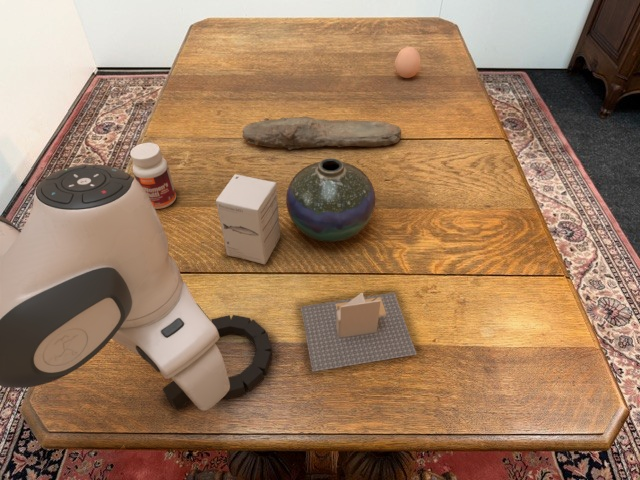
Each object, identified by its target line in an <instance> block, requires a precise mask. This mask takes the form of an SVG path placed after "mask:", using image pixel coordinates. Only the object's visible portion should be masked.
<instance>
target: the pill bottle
mask: <svg viewBox="0 0 640 480" xmlns="http://www.w3.org/2000/svg"><path fill="white" fill-rule="evenodd" d="M129 155H130V158H131V161H132V163H133V164H132V172H133V177H134V178H135V179H136V180H137V181H138V182H139V183H140V185H141V186H142V187H143V189H144V190H145V192H146V193H147V195H148V197H149V199H150V200H151V202H152V204H153V206H154V208H155V210H159V209H165V208H167V207H170V206H171V205H172V204H173V203H174V202H175V201H176V198H177V192H176V188H175V185H174V182H173V179H172V175H171V172H170V168H169V165H168V161H167V160H166V158H164V157H163V154H162V151H161V147H160V146H159V145H158V144H157V143H154V142H143V143H140V144H137V145H136V146H134V147H132V149H131V150H130V153H129Z"/></svg>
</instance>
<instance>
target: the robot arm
mask: <svg viewBox="0 0 640 480" xmlns="http://www.w3.org/2000/svg"><path fill="white" fill-rule="evenodd" d="M162 223H163V222H162V221H161V219H160V216H159V214H158V212H157V209H155V208H154V206H153V204H152V202H151V200H150V199H149V197H148V195H147V193H146V192H145V190H144V189H143V187H142V186H141V185H140V183H139V182H138V181H137V180H136V178H135V176H134V175H131V174H130V173H128V172H126V171H124V170H122V169H119V168H116V167H114V166H110V165H105V164H78V165H73V166H69V167H65V168H62V169H60V170H57V171H55V172H53V173H50V174H49V175H48V176H46V177H45V178H44V179H42V180H41V181H40V182H39V183H38V184H37V186H36V187H35V189H34V194H33V202H32V207H31V210H30V213H29V215H28V216H27V219H26V221H25V223H24V225H23V227H22V229H19V228H18V227H17V226H16V225H15V224H14V223H13V222H11V221H10V220H8V219H7V218H5V217H4V216H3V215H0V387H4V388H9V389H25V388H33V387H37V386H42V385H46V384H49V383H52V382H55V381H57V380H59V379H61V378H64V377H65V376H67V375H69V374H72V373H73V372H74V371H76V370H78V369H79V368H81V367H82V366H84V365H85V364H86V363H88V362H89V361H90V360H91V359H93V358H94V357H95V356H97V354H99V353H100V352H101V351H102V350H103V349H104V348H105V347H106V346H107V344H109V342H110V341H111V340H112V341H114V342H115V343H117V344H119V345H121V346H124V347H125V348H127V349H128V350H129V351H131V352H133V353H134V354H136V355H138V356H139V357H141V359H143V360H144V361H145V362H146V363H147V364H149V365H150V366H151V367H152V368H153V369H154V370H155V371H156V372H157V373H159V374H160V375H161V376H162V377H163V379H166V380H170V379H171V380H172V381H174V382H175V383H176V384H177V385H178V386H179V387H180V388H181V389H182V390H183V391H184V392H185V394H186V395H187V396H188V397H189V398H190V399H191V400H190V401H191V402H192V403H193V404H194V405H195V407H197V408H198V409H199V410H201V411H203V412H204V411H205V412H206V411H208V410H210V409H211V408H213V407H214V406H215V405H217V403H219V402H220V401H222V400H223V398H225V395H226V394H227V392H228V391H229V389H230V382H229V378H228V377H229V374H228V370H227V366H226V364H225V361H224V358H223V356H222V355H223V354H222V353H221V351H220V349H219V347H218V345H217V344H216V343H217V342H218V341H219V340H220V337H219V333H218V330H217V328H216V327H215V325H214V324H213V323H212V319H210V318H209V316H208V315H207V314H206V313H205V311H204V310H203V308H201V306H200V304H198V302H197V301H196V299H194V297H193V295H192V293H191V291H190V289H189V286H188V284H187V283H186V281H184V280H183V276H182V274H181V271H180V269H179V266H178V264H177V262H176V261H175V259H174V258H173V256H172V255H171V254H170V251H169V250H170V249H169V247H170V246H169V240H168V236H167V234H166V231H165V229H164V225H163V224H162ZM221 399H222V400H221Z"/></svg>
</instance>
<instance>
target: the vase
mask: <svg viewBox="0 0 640 480" xmlns="http://www.w3.org/2000/svg"><path fill="white" fill-rule="evenodd" d="M285 204H286V209H287V213H288V215H289V218H290V220H291V222H292V223H293V224H294V226H295V227H296V229H298V230H299V231H300V232H301V233H302V234H304V235H305V236H306V237H308V238H310V239H313V240H316V241H319V242H324V243H338V242H342V241H346V240H349V239H351V238H353V237H355V236H357V235H358V234H359V233H360V232H362V231H363V230H364V229H365V228H366V226H367V225H368V224H369V222H370V221H371V219H372V217H373V214H374V212H375V208H376V192H375V188H374V185H373V183H372V182H371V180H370V178H369V177H368V176H367V175H366V173H364V172H363V171H362V170H361V169H360V168H358V167H357V166H355V165H353V164H350V163H349V162H345V161H341V160H340V159H337V158H335V157H334V158H333V157H332V158H328V157H327V158H325V159H322V160H321V161H317V162H313V163H311V164H308V165H307V166H305V167H303V168H302V169H301V170H298V172H297V173H296V174H295V175H294V176H293V178H292V179H291V180H290V183H289V185H288V187H287V190H286V197H285Z"/></svg>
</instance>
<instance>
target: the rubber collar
mask: <svg viewBox="0 0 640 480" xmlns="http://www.w3.org/2000/svg"><path fill="white" fill-rule="evenodd" d="M211 322H212V323H213V324H214V325H215V327H216V328H217V330H218V333H219V338H220V337H225V336H228V335H231V334H232V335H237V336H241V337H246V338H247V339H248V340H249V341H250V342H251V343H252V344H253V345H254V346H255V350H256V351H255V354H254V357H253V359H252V362H251V363H250V365H248V366H247V367H246V368H245V369H244V370H242V372H240V373H238V374H236V375H232V376H228V378H229V382H230V389H229V391H228V392H227V394H226V395H225V396H224V399H225V400H226V401H227V400H230V399H234V398H237V397H242V396H244V395H246V391H247V392H248V393H251V391H252V390H253V389H255V388H256V387H257V386H258V385H259V384H260V383H261V382H262V381H264V380H265V377H264V376H267V375H268V372H269V369H270V367H271V364H272V360H273V351H272V346H271V343H270V339H269V338H270V337H269V334H268V332H266V329H265V328H264V327H263V326H261V325H260V324H259V323H258V322H257V321H255V320H254V319H252V320H251V318H250V317H245V316H240V315H237V314H232V316H230V315H228V314H227V315H224V316H219V317H216V318H211ZM162 391H163V393H164V396H165V397H166V399H167V400H168V402H169V403H170V404H171V406H173V408H174V409H175V410H176V411H179V410H180V409H182V407H183V406H185V405H186V404H187V403H189V402H190V401H191V399H190V398H189V397H188V396H187V395H186V394H185V392H184V391H183V390H182V389H181V388H180V387H179V386H178V385H177V384H176V383H175V382H174V381H173V380H172V381H171V382H169V383H168V384H167V385H165V386H164V387H163V388H162ZM222 400H223V398H222V399H221V400H220V401H222Z"/></svg>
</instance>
